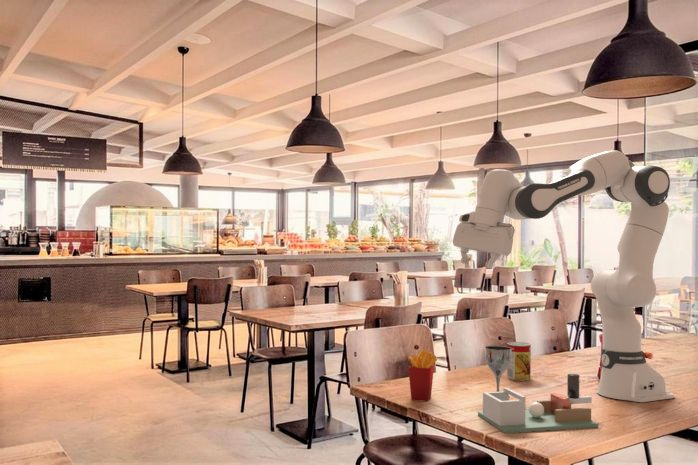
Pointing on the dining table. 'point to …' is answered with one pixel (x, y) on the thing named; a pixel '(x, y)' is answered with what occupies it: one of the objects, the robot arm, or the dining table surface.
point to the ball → (536, 409)
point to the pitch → (518, 419)
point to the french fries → (421, 375)
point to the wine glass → (498, 360)
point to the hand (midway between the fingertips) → (475, 265)
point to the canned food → (519, 361)
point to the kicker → (569, 395)
